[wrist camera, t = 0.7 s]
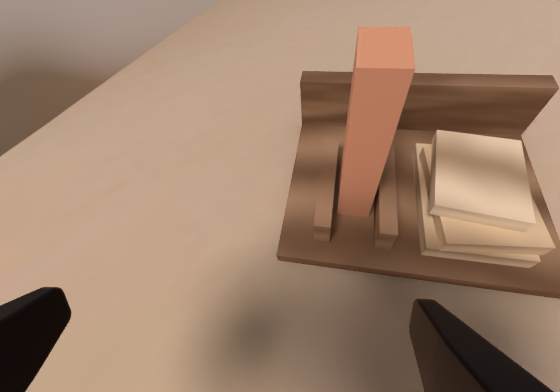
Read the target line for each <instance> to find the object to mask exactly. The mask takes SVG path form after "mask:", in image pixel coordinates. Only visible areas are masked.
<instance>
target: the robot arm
mask: <svg viewBox="0 0 560 392" xmlns="http://www.w3.org/2000/svg"><path fill="white" fill-rule="evenodd" d="M70 318H71V309H70V307H69V304H68V302H67V299H66V297H65V294H64V292H63V290H62V289H61V288H58V287H43V288H40V289H37V290H35V291H33V292H30V293H28V294H26V295H24V296H21V297H19V298H17V299H14V300H12V301H10V302H8V303H5V304H3V305H1V306H0V392H25V391H26V390H27V388H28V387H29V385H30V384H31V382H32V381H33V379H34V378H35V376H36V375H37V373H38V372H39V370H40V368H41V367H42V365H43V363H44V362H45V360H46V359H47V357H48V355H49V354H50V352H51V350H52V349H53V347H54V345H55V344H56V342H57V340H58V339H59V337H60V335H61V334H62V332H63V331H64V329H65V327H66V326H67V324H68V322H69V320H70ZM409 331H410V337H411V341H412V345H413V348H414V352H415V356H416V360H417V364H418V368H419V372H420V375H421V379H422V383H423V387H424V391H425V392H553V391H552V390H551V389H550V388H548V387H547V386H546V385H544V384H543V383H542V382H540V381H539V380H538V379H537V378H535V377H534V376H533V375H531V374H530V373H529V372H527V371H526V370H525V369H524V368H522V367H521V366H520V365H518V364H517V363H516V362H514V361H513V360H512V359H511V358H509V357H508V356H507V355H505V354H504V353H503V352H501V351H500V350H499V349H498V348H496V347H495V346H494V345H492V344H491V343H490V342H488V341H487V340H486V339H484V338H483V337H482V336H481V335H479V334H478V333H477V332H475V331H474V330H473V329H471V328H470V327H469V326H468V325H466V324H465V323H464V322H462V321H461V320H460V319H458V318H457V317H456V316H455V315H453V314H452V313H451V312H449V311H448V310H447V309H445V308H444V307H443V306H442V305H440V304H439V303H438V302H436V301H435V300H431V299H416V300H415V301H414V303H413V308H412V313H411V319H410V324H409Z"/></svg>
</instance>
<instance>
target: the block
mask: <svg viewBox="0 0 560 392" xmlns="http://www.w3.org/2000/svg"><path fill="white" fill-rule="evenodd" d="M414 71H415V62H414V54H413V46H412V37H411V29H410V27H358V35H357V43H356V51H355V59H354V67H353V75H352V84H351V92H350V100H349V108H348V116H347V124H346V132H345V141H344V149H343V157H342V165H341V173H340V182H339V194H338V206H337V214H346V215H356V216H366V217H369V213H370V210H371V207H372V204H373V201H374V198H375V195H376V191H377V188H378V185H379V182H380V179H381V176H382V172H383V169H384V166H385V163H386V160H387V157H388V153H389V150H390V147H391V144H392V141H393V138H394V134H395V131H396V128H397V125H398V122H399V119H400V116H401V112H402V109H403V106H404V103H405V100H406V97H407V93H408V90H409V87H410V84H411V81H412V78H413V74H414Z"/></svg>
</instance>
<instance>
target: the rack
mask: <svg viewBox="0 0 560 392" xmlns="http://www.w3.org/2000/svg"><path fill="white" fill-rule="evenodd" d="M352 75H353V72H321V71H303V72H302V76H301V81H300V88H301V110H302V128H301V133H300V138H299V143H298V149H297V154H296V159H295V164H294V169H293V174H292V179H291V185H290V190H289V195H288V200H287V205H286V210H285V216H284V221H283V226H282V231H281V236H280V241H279V247H278V252H277V258H278V260H280V261H288V262H295V263H302V264H310V265H317V266H324V267H332V268H339V269H346V270H354V271H361V272H368V273H376V274H383V275H390V276H398V277H405V278H412V279H420V280H427V281H434V282H442V283H449V284H456V285H464V286H471V287H478V288H486V289H493V290H500V291H508V292H515V293H522V294H530V295H537V296H544V297H552V298H559V299H560V240H559V238H558V235H557V232H556V230H555V227H554V224H553V221H552V219H551V216H550V213H549V211H548V208H547V205H546V202H545V200H544V197H543V194H542V192H541V189H540V186H539V184H538V181H537V178H536V175H535V173H534V170H533V167H532V165H531V162H530V159H529V157H528V154H527V151H526V148H525V146H524V143H523V140H522V138H521V135H522V133H523V132H524V131H525V130H526V128H527V127H528V126H529V125H530V124H531V122H532V121H533V120H534V119H535V117H536V116H537V115H538V114H539V112H540V111H541V110H542V109H543V108H544V106H545V105H546V104H547V103H548V101H549V100H550V99H551V98H552V97H553V95H554V94H555V93H556V92H557V90H558V89H559V87H558V85H557V83H556V81H555V79H554V77H553V76H552V75H494V74H436V73H414V74H413V78H412V81H411V84H410V87H409V90H408V93H407V97H406V100H405V103H404V106H403V109H402V112H401V116H400V119H399V122H398V125H397V128H396V131H395V134H394V138H393V141H392V144H391V147H390V150H389V153H388V157H387V160H386V163H385V166H384V169H383V172H382V176H381V179H380V182H379V185H378V188H377V191H376V195H375V198H374V201H373V204H372V207H371V210H370V213H369V217H366V216H356V215H346V214H337V206H338V194H339V182H340V173H341V165H342V157H343V149H344V141H345V132H346V124H347V116H348V108H349V100H350V92H351V84H352Z"/></svg>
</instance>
